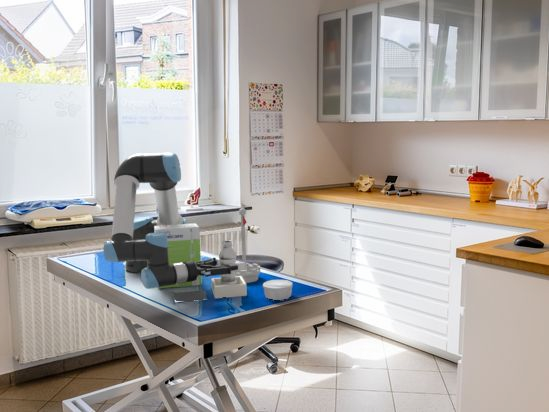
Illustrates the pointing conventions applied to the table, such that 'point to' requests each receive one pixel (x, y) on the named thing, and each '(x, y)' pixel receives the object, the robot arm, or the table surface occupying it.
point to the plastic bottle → (227, 263)
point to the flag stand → (250, 271)
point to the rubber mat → (189, 295)
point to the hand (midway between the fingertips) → (237, 262)
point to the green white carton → (182, 246)
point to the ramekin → (278, 289)
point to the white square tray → (229, 288)
